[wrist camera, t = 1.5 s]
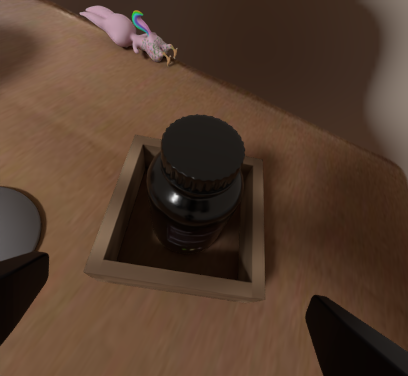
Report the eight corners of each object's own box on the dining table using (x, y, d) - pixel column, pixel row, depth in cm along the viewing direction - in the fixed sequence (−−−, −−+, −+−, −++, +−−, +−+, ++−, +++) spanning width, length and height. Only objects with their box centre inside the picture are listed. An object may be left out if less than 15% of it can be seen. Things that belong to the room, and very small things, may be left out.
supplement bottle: (150, 193, 24) (141, 98, 14) (213, 190, 25) (248, 102, 15) (152, 260, 21) (142, 201, 10) (225, 253, 22) (279, 193, 12)
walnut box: (247, 303, 20) (265, 299, 17) (97, 280, 19) (83, 271, 16) (250, 180, 27) (262, 159, 23) (138, 159, 26) (135, 134, 22)
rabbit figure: (178, 61, 39) (96, 15, 37) (186, 24, 34) (92, -30, 32) (162, 80, 36) (71, 31, 34) (169, 43, 30) (62, -16, 29)
